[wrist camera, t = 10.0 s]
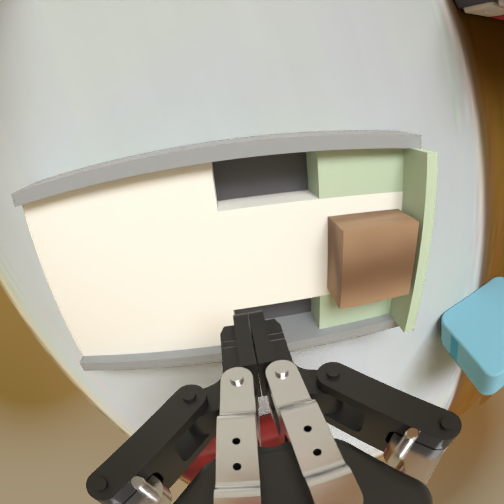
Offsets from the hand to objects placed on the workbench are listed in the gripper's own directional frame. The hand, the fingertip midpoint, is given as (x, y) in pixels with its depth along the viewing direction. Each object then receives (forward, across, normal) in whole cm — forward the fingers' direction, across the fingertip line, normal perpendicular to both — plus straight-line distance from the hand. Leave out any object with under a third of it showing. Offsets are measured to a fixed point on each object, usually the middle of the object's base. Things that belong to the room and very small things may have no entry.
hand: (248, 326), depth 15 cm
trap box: (+10, +1, 0) cm, 11 cm away
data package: (+10, -29, +13) cm, 34 cm away
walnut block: (+7, -10, +1) cm, 12 cm away
